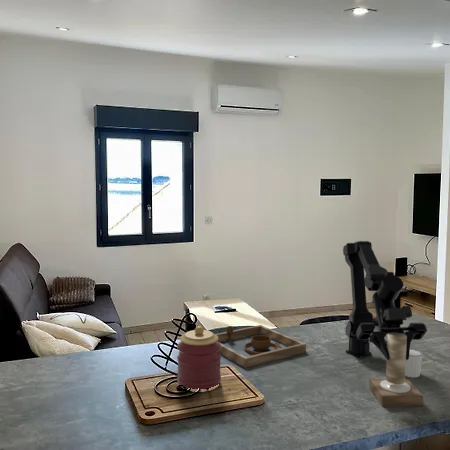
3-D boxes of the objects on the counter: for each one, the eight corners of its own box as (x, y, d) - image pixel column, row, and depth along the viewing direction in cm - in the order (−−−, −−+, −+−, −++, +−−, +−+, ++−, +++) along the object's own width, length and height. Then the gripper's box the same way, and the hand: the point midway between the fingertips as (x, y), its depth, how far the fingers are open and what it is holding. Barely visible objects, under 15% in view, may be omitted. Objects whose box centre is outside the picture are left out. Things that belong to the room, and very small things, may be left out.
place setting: (244, 360, 163) (244, 343, 163) (223, 341, 182) (223, 326, 181) (289, 354, 169) (290, 337, 169) (265, 336, 188) (265, 322, 188)
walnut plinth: (369, 388, 140) (369, 377, 140) (406, 388, 140) (406, 377, 140) (382, 406, 129) (382, 394, 129) (422, 406, 129) (423, 394, 129)
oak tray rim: (203, 344, 177) (203, 336, 177) (260, 332, 192) (260, 324, 191) (245, 367, 155) (245, 358, 155) (306, 352, 170) (306, 343, 169)
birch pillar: (384, 382, 133) (386, 336, 132) (387, 375, 138) (389, 331, 136) (403, 385, 131) (405, 339, 130) (405, 378, 135) (407, 333, 134)
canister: (226, 378, 147) (227, 322, 145) (211, 396, 134) (212, 335, 133) (187, 373, 151) (187, 318, 149) (169, 389, 139) (169, 330, 137)
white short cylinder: (424, 379, 147) (425, 357, 146) (400, 377, 148) (401, 355, 148) (419, 370, 154) (420, 349, 153) (397, 368, 155) (398, 347, 155)
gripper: (360, 295, 136) (372, 346, 126) (425, 295, 136) (442, 346, 126) (351, 314, 144) (361, 364, 134) (413, 314, 145) (427, 363, 135)
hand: (398, 359), depth 132 cm, fingers closed on birch pillar, 5 cm apart
